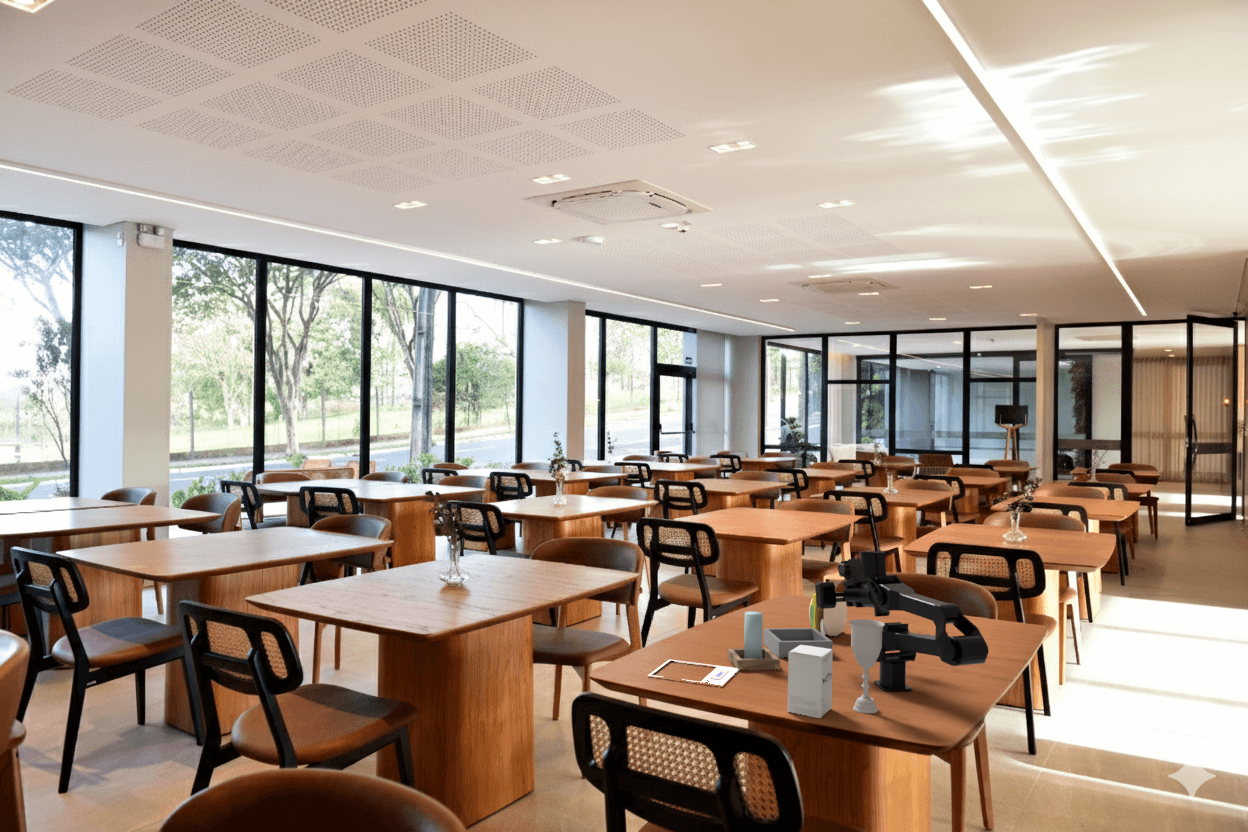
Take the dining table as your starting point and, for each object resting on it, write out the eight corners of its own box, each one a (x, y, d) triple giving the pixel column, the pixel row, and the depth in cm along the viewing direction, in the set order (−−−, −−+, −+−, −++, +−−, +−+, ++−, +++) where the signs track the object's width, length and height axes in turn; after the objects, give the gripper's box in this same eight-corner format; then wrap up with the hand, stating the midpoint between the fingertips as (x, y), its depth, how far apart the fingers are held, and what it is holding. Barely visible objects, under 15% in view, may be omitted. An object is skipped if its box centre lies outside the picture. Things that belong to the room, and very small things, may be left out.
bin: (832, 657, 220) (832, 641, 220) (778, 657, 219) (778, 642, 219) (814, 642, 234) (814, 627, 234) (763, 643, 233) (763, 628, 233)
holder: (779, 669, 208) (779, 659, 208) (737, 670, 207) (737, 660, 207) (767, 657, 219) (767, 648, 219) (727, 658, 217) (727, 648, 217)
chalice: (877, 703, 184) (878, 619, 184) (888, 714, 177) (889, 627, 177) (843, 703, 184) (844, 619, 184) (852, 714, 177) (854, 626, 177)
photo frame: (722, 684, 194) (647, 674, 201) (722, 689, 194) (647, 679, 201) (739, 667, 207) (669, 658, 214) (739, 672, 207) (668, 663, 214)
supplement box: (821, 719, 174) (822, 656, 174) (786, 712, 178) (787, 651, 178) (832, 709, 181) (833, 648, 181) (798, 702, 184) (799, 643, 184)
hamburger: (832, 641, 236) (832, 597, 236) (805, 636, 241) (805, 593, 241) (852, 633, 245) (852, 591, 245) (825, 628, 250) (826, 587, 250)
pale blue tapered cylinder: (764, 666, 211) (764, 615, 211) (746, 666, 210) (747, 615, 210) (759, 661, 215) (760, 611, 215) (742, 661, 215) (742, 611, 215)
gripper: (899, 559, 210) (863, 559, 224) (831, 561, 204) (798, 561, 219) (903, 606, 208) (866, 603, 223) (834, 610, 202) (801, 606, 217)
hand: (833, 592), depth 220 cm, fingers open, 9 cm apart
